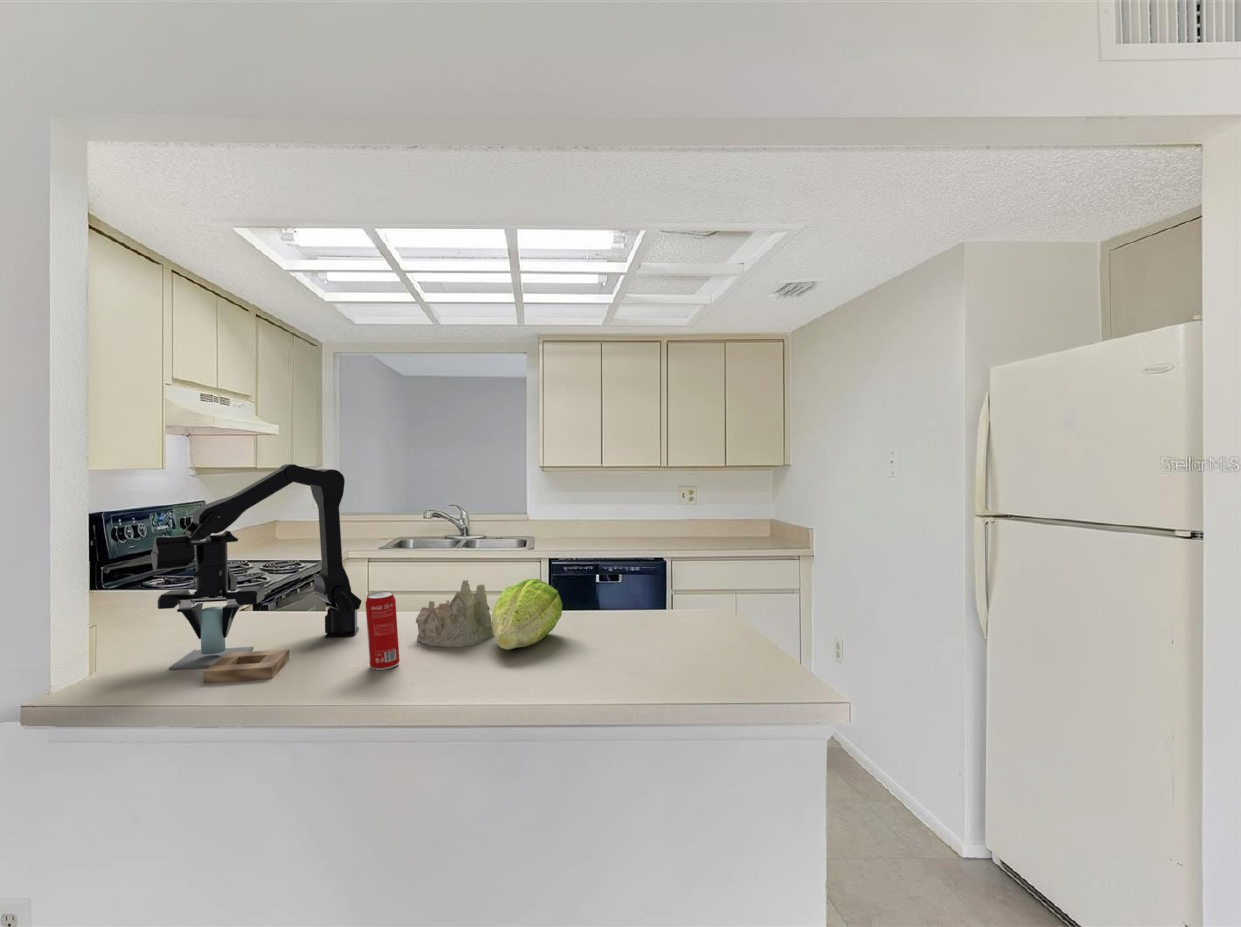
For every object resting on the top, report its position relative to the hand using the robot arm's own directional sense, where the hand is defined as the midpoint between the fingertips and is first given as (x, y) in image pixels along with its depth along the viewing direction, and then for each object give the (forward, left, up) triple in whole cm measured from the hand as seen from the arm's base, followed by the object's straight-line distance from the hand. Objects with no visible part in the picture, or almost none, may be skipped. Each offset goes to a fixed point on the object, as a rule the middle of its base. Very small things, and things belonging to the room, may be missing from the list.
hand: (213, 637), depth 142 cm
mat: (0, 0, -4) cm, 5 cm away
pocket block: (-10, +10, -4) cm, 15 cm away
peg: (0, 0, -3) cm, 3 cm away
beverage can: (-36, +13, -5) cm, 39 cm away
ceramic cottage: (-50, -6, -5) cm, 51 cm away
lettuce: (-65, +3, -5) cm, 65 cm away
